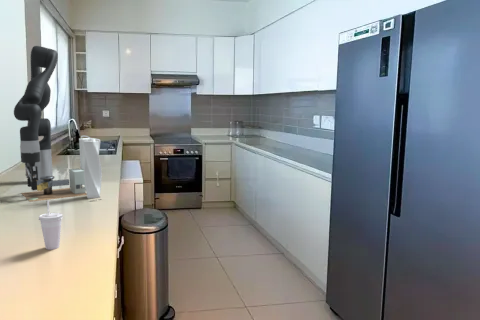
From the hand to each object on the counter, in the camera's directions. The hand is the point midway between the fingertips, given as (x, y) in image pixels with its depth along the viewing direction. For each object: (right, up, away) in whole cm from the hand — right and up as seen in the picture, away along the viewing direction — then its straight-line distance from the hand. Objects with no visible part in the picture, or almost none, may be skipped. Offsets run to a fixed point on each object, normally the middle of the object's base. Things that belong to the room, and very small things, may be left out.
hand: (32, 188), depth 189 cm
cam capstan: (+4, -3, +4) cm, 6 cm away
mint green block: (+2, -4, -4) cm, 7 cm away
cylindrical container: (+19, -3, +18) cm, 26 cm away
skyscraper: (+26, -5, +1) cm, 26 cm away
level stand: (+15, -2, +11) cm, 19 cm away
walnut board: (+7, -4, +7) cm, 10 cm away
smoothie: (+35, -14, -61) cm, 72 cm away
